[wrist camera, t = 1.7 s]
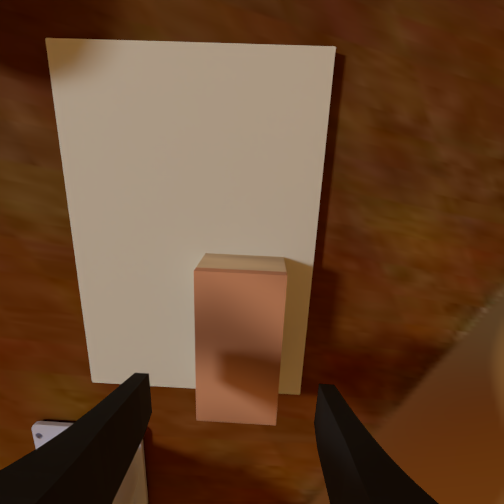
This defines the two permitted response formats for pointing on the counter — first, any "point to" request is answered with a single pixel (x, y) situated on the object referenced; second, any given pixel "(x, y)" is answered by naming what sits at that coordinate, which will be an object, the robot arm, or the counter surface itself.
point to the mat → (186, 186)
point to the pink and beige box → (238, 337)
